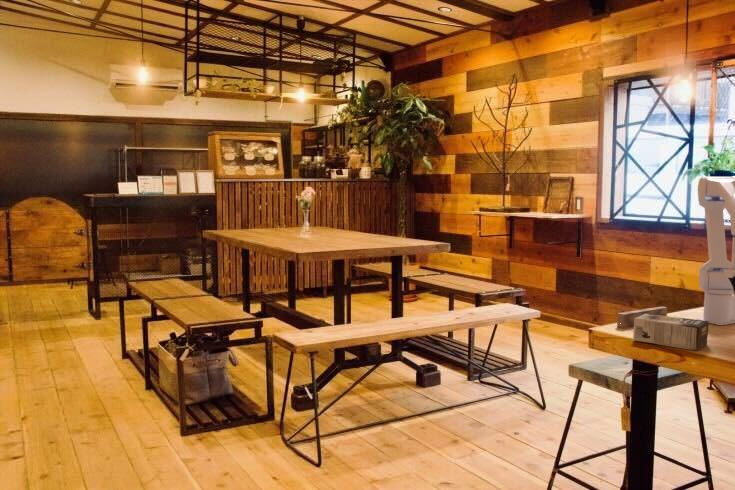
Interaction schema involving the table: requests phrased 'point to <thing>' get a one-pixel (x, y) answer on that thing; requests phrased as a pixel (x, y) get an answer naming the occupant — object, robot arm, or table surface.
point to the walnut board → (628, 317)
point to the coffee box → (671, 331)
